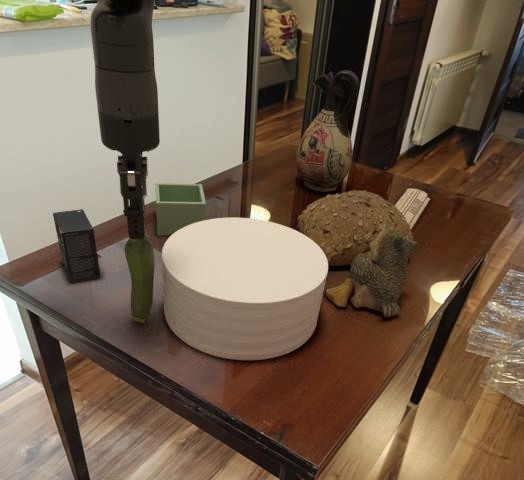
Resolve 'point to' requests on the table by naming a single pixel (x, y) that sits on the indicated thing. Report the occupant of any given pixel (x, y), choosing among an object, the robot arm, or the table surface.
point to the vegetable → (140, 276)
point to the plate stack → (242, 287)
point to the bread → (350, 223)
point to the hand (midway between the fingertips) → (137, 224)
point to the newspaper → (412, 205)
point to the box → (77, 245)
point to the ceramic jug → (328, 136)
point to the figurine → (377, 275)
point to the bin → (178, 206)
